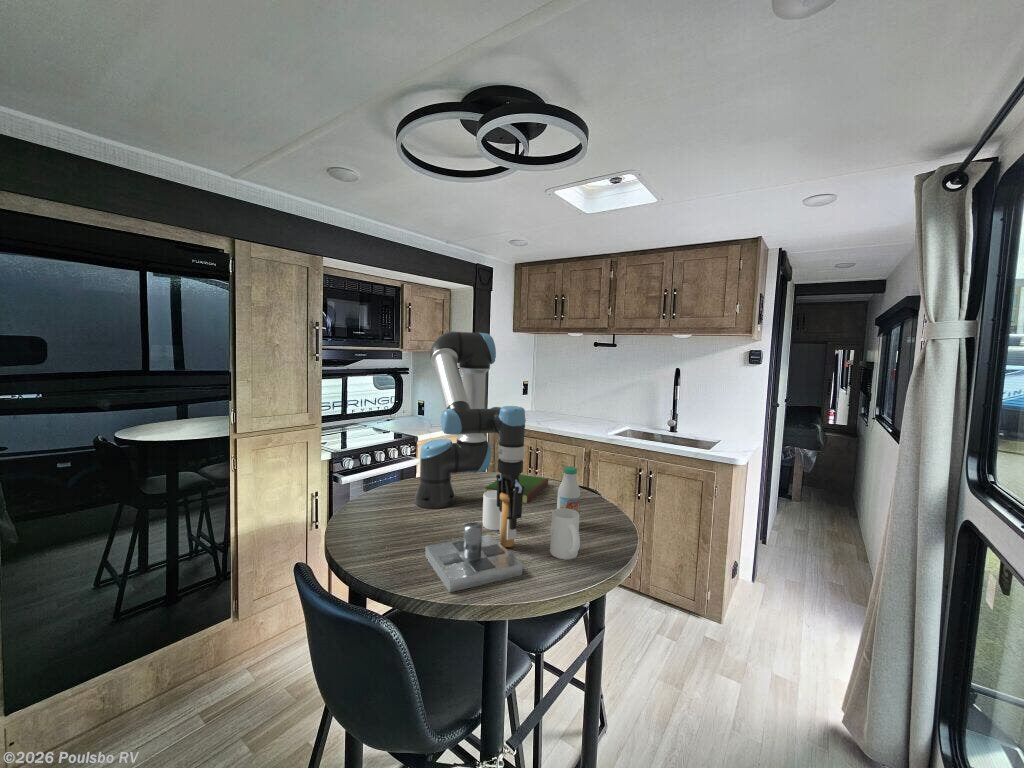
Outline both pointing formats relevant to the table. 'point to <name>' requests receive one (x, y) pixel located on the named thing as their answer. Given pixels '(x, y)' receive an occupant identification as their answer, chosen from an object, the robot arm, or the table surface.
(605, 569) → the table surface
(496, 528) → the mug
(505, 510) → the tan wooden pestle
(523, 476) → the hardcover book
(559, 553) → the mug
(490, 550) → the checkered knob plate
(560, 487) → the milk bottle
